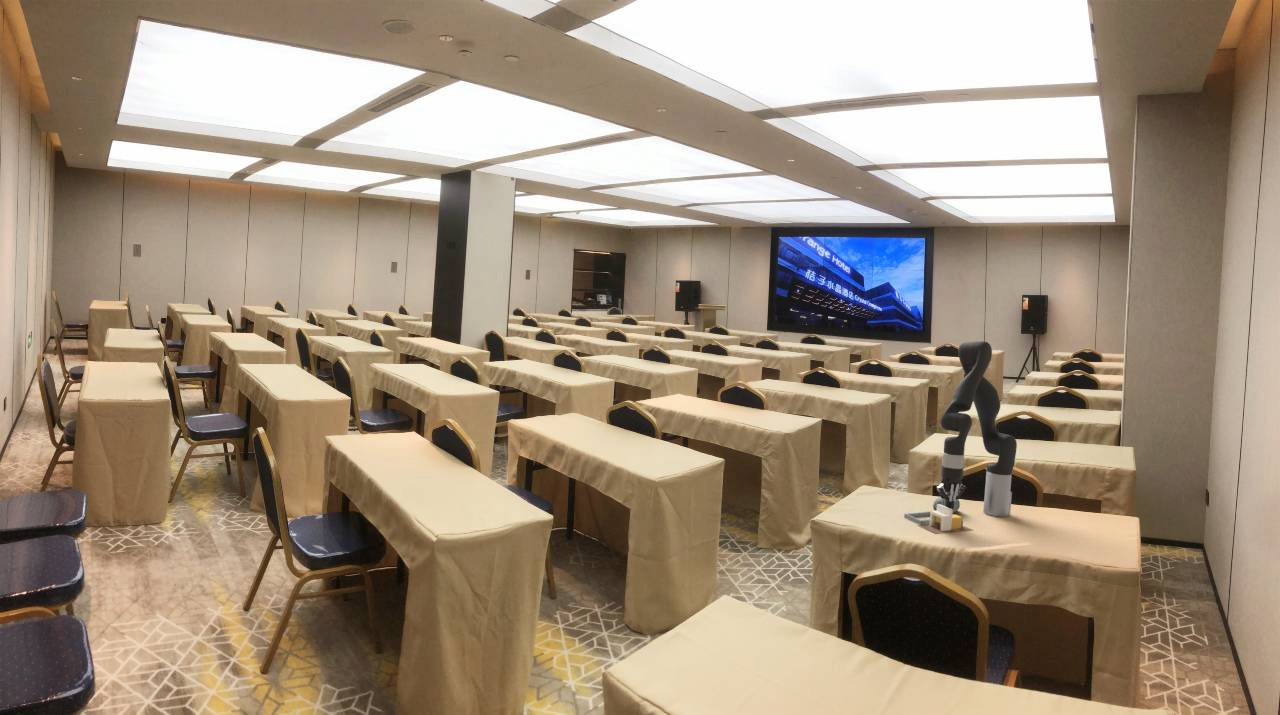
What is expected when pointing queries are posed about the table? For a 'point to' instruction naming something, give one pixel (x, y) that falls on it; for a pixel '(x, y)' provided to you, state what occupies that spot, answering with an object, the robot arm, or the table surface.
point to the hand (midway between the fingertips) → (949, 510)
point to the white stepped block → (942, 517)
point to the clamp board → (936, 529)
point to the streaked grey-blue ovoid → (942, 502)
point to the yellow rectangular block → (955, 521)
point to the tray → (912, 516)
